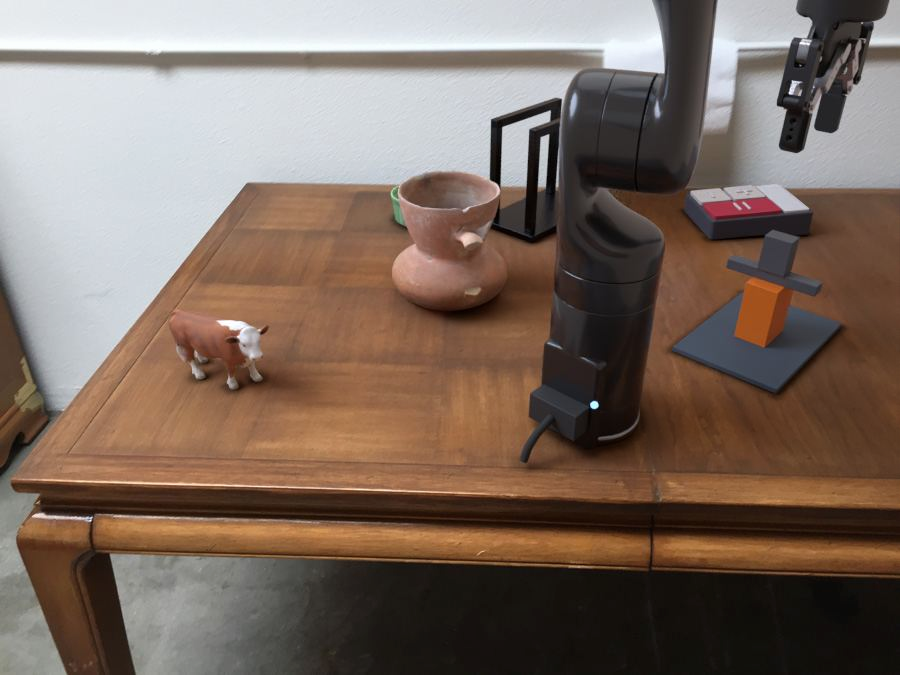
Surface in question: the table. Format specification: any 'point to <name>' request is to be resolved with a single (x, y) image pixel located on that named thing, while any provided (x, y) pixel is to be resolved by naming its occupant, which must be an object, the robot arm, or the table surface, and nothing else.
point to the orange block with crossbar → (769, 288)
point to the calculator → (747, 211)
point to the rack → (529, 175)
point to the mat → (750, 360)
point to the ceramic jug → (449, 241)
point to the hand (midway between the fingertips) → (808, 140)
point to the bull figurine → (216, 342)
